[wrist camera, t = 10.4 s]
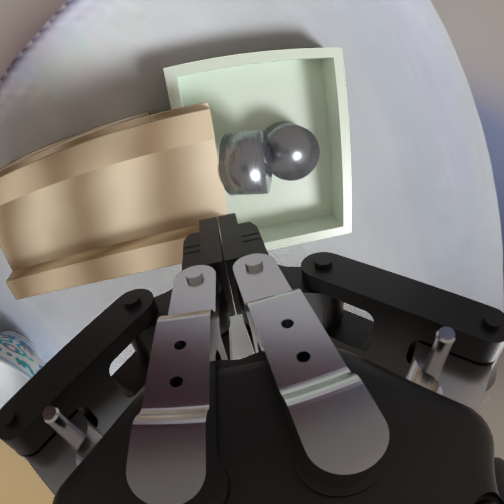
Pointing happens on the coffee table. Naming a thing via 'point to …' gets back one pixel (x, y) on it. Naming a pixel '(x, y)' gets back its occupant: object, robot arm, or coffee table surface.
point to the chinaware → (16, 364)
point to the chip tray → (272, 111)
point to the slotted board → (109, 200)
